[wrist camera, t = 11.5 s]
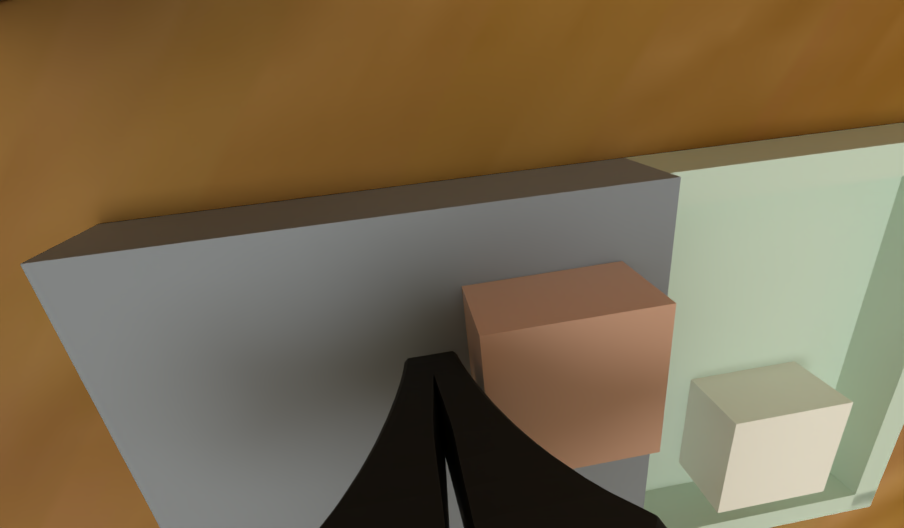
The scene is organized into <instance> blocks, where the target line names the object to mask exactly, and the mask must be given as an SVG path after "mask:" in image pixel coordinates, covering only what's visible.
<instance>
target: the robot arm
mask: <svg viewBox="0 0 904 528" xmlns="http://www.w3.org/2000/svg"><path fill="white" fill-rule="evenodd" d="M446 461H447V465H448V469H449V473H450V477H451V481H452V485H453V488H454V492H455V496H456V500H457V504H458V508H459V511H460V515H461V519H462V523H463V527H464V528H667V527H666V526H665V524H664V523H663V522H662V521H661V520H660V518H659V517H658V516H657V515H655V514H653V513H651V512H649V511H647V510H645V509H643V508H641V507H639V506H637V505H635V504H633V503H631V502H629V501H627V500H625V499H623V498H621V497H619V496H617V495H615V494H613V493H611V492H609V491H607V490H605V489H604V488H602V487H600V486H599V485H597V484H595V483H593V482H592V481H590V480H588V479H587V478H585V477H584V476H582V475H581V474H579V473H578V472H576V471H575V470H573V469H572V468H570V467H569V466H567V465H566V464H564V463H563V462H561V461H560V460H558V459H557V458H555V457H554V456H553V455H551V454H550V453H549V452H547V451H546V450H545V449H544V448H542V447H541V446H540V445H538V444H537V443H536V442H535V441H533V440H532V439H531V438H530V437H529V436H527V435H526V434H525V433H524V432H523V431H522V430H521V429H519V428H518V427H517V426H516V425H515V424H514V423H513V422H512V421H511V420H510V419H509V418H508V417H507V416H506V415H505V414H504V413H503V412H502V411H501V410H500V409H499V408H498V407H497V406H496V405H495V404H494V403H493V402H492V401H491V400H490V398H489V397H488V396H487V395H486V394H485V393H484V391H483V390H482V389H481V388H480V387H479V386H478V384H477V383H476V382H475V381H474V379H473V378H472V377H471V375H470V374H469V373H468V371H467V370H466V368H465V367H464V365H463V364H462V362H461V361H460V359H459V357H458V355H457V354H456V353H455V352H453V351H449V352H443V353H437V354H431V355H425V356H419V357H412V358H408V359H407V360H406V361H405V362H404V369H403V373H402V377H401V381H400V384H399V387H398V390H397V393H396V396H395V399H394V401H393V404H392V406H391V409H390V412H389V414H388V416H387V419H386V421H385V423H384V425H383V427H382V429H381V432H380V434H379V436H378V438H377V440H376V442H375V444H374V446H373V448H372V450H371V452H370V453H369V455H368V457H367V459H366V460H365V462H364V464H363V466H362V467H361V469H360V471H359V472H358V474H357V476H356V477H355V479H354V480H353V482H352V483H351V485H350V486H349V488H348V489H347V491H346V492H345V494H344V495H343V497H342V498H341V500H340V501H339V503H338V504H337V505H336V507H335V508H334V510H333V511H332V512H331V514H330V515H329V516H328V517H327V519H326V520H325V521H324V522H323V524H322V525H321V526H320V527H319V528H450V527H449V509H448V492H447V474H446Z"/></svg>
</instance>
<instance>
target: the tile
mask: <svg viewBox="0 0 904 528" xmlns="http://www.w3.org/2000/svg"><path fill="white" fill-rule="evenodd" d="M852 405H853V402H852V401H851V400H850V399H848V398H847V397H845V396H844V395H842V394H841V393H839V392H838V391H837V390H835V389H834V388H832V387H831V386H829V385H828V384H826V383H825V382H824V381H822V380H821V379H819V378H818V377H816V376H815V375H813V374H812V373H811V372H809V371H808V370H806V369H805V368H803V367H802V366H801V365H799V364H798V363H796V362H795V361H793V362H787V363H781V364H776V365H770V366H764V367H759V368H753V369H748V370H742V371H736V372H731V373H725V374H719V375H714V376H708V377H702V378H697V379H691V383H690V389H689V396H688V403H687V410H686V417H685V423H684V430H683V437H682V444H681V451H680V458H679V463H680V464H681V466H682V467H683V468H684V470H685V471H686V472H687V473H688V475H689V476H690V477H691V479H692V480H693V481H694V483H695V484H696V485H697V487H698V488H699V489H700V491H701V492H702V493H703V494H704V496H705V497H706V498H707V500H708V501H709V502H710V504H711V505H712V506H713V508H714V509H715V510H716V511H717V513H721V512H726V511H731V510H735V509H740V508H745V507H750V506H755V505H760V504H764V503H769V502H774V501H779V500H784V499H789V498H793V497H798V496H803V495H808V494H813V493H818V492H822V491H824V488H825V485H826V482H827V479H828V476H829V473H830V470H831V467H832V464H833V461H834V458H835V455H836V452H837V449H838V446H839V444H840V441H841V438H842V435H843V432H844V429H845V426H846V423H847V420H848V417H849V414H850V411H851V408H852Z"/></svg>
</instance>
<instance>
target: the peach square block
mask: <svg viewBox="0 0 904 528" xmlns="http://www.w3.org/2000/svg"><path fill="white" fill-rule="evenodd" d="M462 294H463V304H464V313H465V322H466V331H467V340H468V350H469V359H470V368H471V377H472V378H473V379H474V381H475V382H476V383H477V384H478V386H479V387H480V388H481V389H482V390H483V391H484V393H485V394H486V395H487V396H488V397H489V398H490V400H491V401H492V402H493V403H494V404H495V405H496V406H497V407H498V408H499V409H500V410H501V411H502V412H503V413H504V414H505V415H506V416H507V417H508V418H509V419H510V420H511V421H512V422H513V423H514V424H515V425H516V426H517V427H518V428H519V429H521V430H522V431H523V432H524V433H525V434H526V435H527V436H529V437H530V438H531V439H532V440H533V441H535V442H536V443H537V444H538V445H540V446H541V447H542V448H544V449H545V450H546V451H547V452H549V453H550V454H551V455H553V456H554V457H555V458H557V459H558V460H560V461H561V462H563V463H564V464H566V465H567V466H569V467H570V468H572V469H575V468H580V467H585V466H590V465H596V464H601V463H606V462H611V461H616V460H621V459H626V458H631V457H637V456H642V455H647V454H652V453H657V452H660V445H661V436H662V428H663V419H664V410H665V401H666V392H667V383H668V374H669V365H670V356H671V347H672V338H673V329H674V320H675V311H676V303H675V302H674V301H673V300H672V299H670V298H669V297H668V296H666V295H665V294H664V293H663V292H661V291H660V290H659V289H657V288H656V287H655V286H654V285H652V284H651V283H650V282H648V281H647V280H646V279H645V278H643V277H642V276H641V275H640V274H638V273H637V272H636V271H634V270H633V269H632V268H631V267H629V266H628V265H627V264H625V263H624V262H623V261H619V262H612V263H606V264H600V265H593V266H587V267H580V268H574V269H568V270H561V271H555V272H549V273H542V274H536V275H529V276H523V277H517V278H510V279H504V280H498V281H491V282H485V283H478V284H472V285H466V286H462Z"/></svg>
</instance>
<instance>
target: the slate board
mask: <svg viewBox="0 0 904 528" xmlns="http://www.w3.org/2000/svg"><path fill="white" fill-rule="evenodd" d="M680 181H681V177H680V176H677V175H674V174H671V173H668V172H665V171H662V170H659V169H656V168H653V167H650V166H647V165H644V164H641V163H638V162H635V161H632V160H629V159H626V158H618V159H610V160H603V161H595V162H587V163H579V164H571V165H563V166H555V167H547V168H539V169H531V170H523V171H515V172H507V173H500V174H492V175H484V176H476V177H468V178H460V179H452V180H444V181H436V182H428V183H420V184H412V185H404V186H397V187H389V188H381V189H373V190H365V191H357V192H349V193H341V194H333V195H325V196H317V197H309V198H302V199H294V200H286V201H278V202H270V203H262V204H254V205H246V206H238V207H230V208H222V209H214V210H206V211H199V212H191V213H183V214H175V215H167V216H159V217H151V218H143V219H135V220H127V221H119V222H111V223H103V224H98V225H96V226H94V227H92V228H90V229H88V230H86V231H84V232H82V233H80V234H78V235H76V236H74V237H72V238H70V239H68V240H66V241H64V242H62V243H60V244H58V245H57V246H55V247H53V248H51V249H49V250H47V251H45V252H43V253H41V254H39V255H37V256H35V257H33V258H31V259H29V260H27V261H25V262H23V263H21V264H20V265H21V267H22V268H23V270H24V272H25V274H26V276H27V278H28V280H29V282H30V284H31V285H32V287H33V289H34V291H35V293H36V295H37V297H38V299H39V300H40V302H41V304H42V306H43V308H44V310H45V312H46V314H47V316H48V317H49V319H50V321H51V323H52V325H53V327H54V329H55V331H56V332H57V334H58V336H59V338H60V340H61V342H62V344H63V346H64V348H65V349H66V351H67V353H68V355H69V357H70V359H71V361H72V363H73V364H74V366H75V368H76V370H77V372H78V374H79V376H80V378H81V380H82V381H83V383H84V385H85V387H86V389H87V391H88V393H89V395H90V396H91V398H92V400H93V402H94V404H95V406H96V408H97V410H98V412H99V413H100V415H101V417H102V419H103V421H104V423H105V425H106V427H107V428H108V430H109V432H110V434H111V436H112V438H113V440H114V442H115V444H116V445H117V447H118V449H119V451H120V453H121V455H122V457H123V459H124V460H125V462H126V464H127V466H128V468H129V470H130V472H131V474H132V476H133V477H134V479H135V481H136V483H137V485H138V487H139V489H140V491H141V492H142V494H143V496H144V498H145V500H146V502H147V504H148V506H149V508H150V509H151V511H152V513H153V515H154V517H155V519H156V521H157V523H158V524H159V526H160V528H319V527H320V526H321V525H322V524H323V522H324V521H325V520H326V519H327V517H328V516H329V515H330V514H331V512H332V511H333V510H334V508H335V507H336V505H337V504H338V503H339V501H340V500H341V498H342V497H343V495H344V494H345V492H346V491H347V489H348V488H349V486H350V485H351V483H352V482H353V480H354V479H355V477H356V476H357V474H358V472H359V471H360V469H361V467H362V466H363V464H364V462H365V460H366V459H367V457H368V455H369V453H370V452H371V450H372V448H373V446H374V444H375V442H376V440H377V438H378V436H379V434H380V432H381V429H382V427H383V425H384V423H385V421H386V419H387V416H388V414H389V412H390V409H391V406H392V404H393V401H394V399H395V396H396V393H397V390H398V387H399V384H400V381H401V377H402V373H403V369H404V362H405V361H406V360H407V359H408V358H412V357H419V356H425V355H431V354H437V353H443V352H449V351H453V352H455V353H456V354H457V355H458V357H459V359H460V361H461V362H462V364H463V365H464V367H465V368H466V370H467V371H468V373H469V374H470V375H471V368H470V359H469V350H468V340H467V331H466V322H465V313H464V304H463V294H462V286H466V285H472V284H478V283H485V282H491V281H498V280H504V279H510V278H517V277H523V276H529V275H536V274H542V273H549V272H555V271H561V270H568V269H574V268H580V267H587V266H593V265H600V264H606V263H612V262H619V261H623V262H624V263H625V264H627V265H628V266H629V267H631V268H632V269H633V270H634V271H636V272H637V273H638V274H640V275H641V276H642V277H643V278H645V279H646V280H647V281H648V282H650V283H651V284H652V285H654V286H655V287H656V288H657V289H659V290H660V291H661V292H663V293H664V294H665V295H666V296H668V287H669V279H670V270H671V261H672V252H673V243H674V234H675V225H676V216H677V208H678V199H679V190H680ZM649 456H650V454H647V455H642V456H637V457H631V458H626V459H621V460H616V461H611V462H606V463H601V464H596V465H590V466H585V467H580V468H575V469H573V470H575V471H576V472H578V473H579V474H581V475H582V476H584V477H585V478H587V479H588V480H590V481H592V482H593V483H595V484H597V485H599V486H600V487H602V488H604V489H605V490H607V491H609V492H611V493H613V494H615V495H617V496H619V497H621V498H623V499H625V500H627V501H629V502H631V503H633V504H635V505H637V506H639V507H641V508H643V509H644V500H645V491H646V483H647V474H648V465H649ZM446 474H447V492H448V509H449V527H450V528H464V527H463V523H462V519H461V515H460V511H459V508H458V504H457V500H456V496H455V492H454V488H453V485H452V481H451V477H450V473H449V469H448V465H447V461H446Z"/></svg>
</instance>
